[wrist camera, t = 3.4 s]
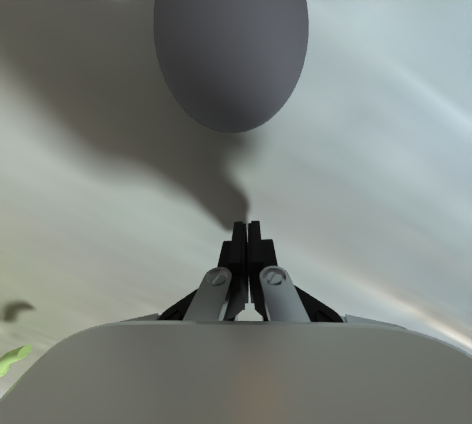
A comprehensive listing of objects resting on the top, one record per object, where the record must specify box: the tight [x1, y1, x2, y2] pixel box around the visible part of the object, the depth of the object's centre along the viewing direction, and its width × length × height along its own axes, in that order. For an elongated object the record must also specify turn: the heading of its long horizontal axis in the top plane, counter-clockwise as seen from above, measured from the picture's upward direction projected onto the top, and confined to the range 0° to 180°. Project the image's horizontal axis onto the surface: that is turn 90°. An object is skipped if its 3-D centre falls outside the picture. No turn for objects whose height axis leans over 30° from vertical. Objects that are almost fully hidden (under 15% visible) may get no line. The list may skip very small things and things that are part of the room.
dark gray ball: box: [154, 0, 309, 133], centre depth 7 cm, size 6×6×6 cm
